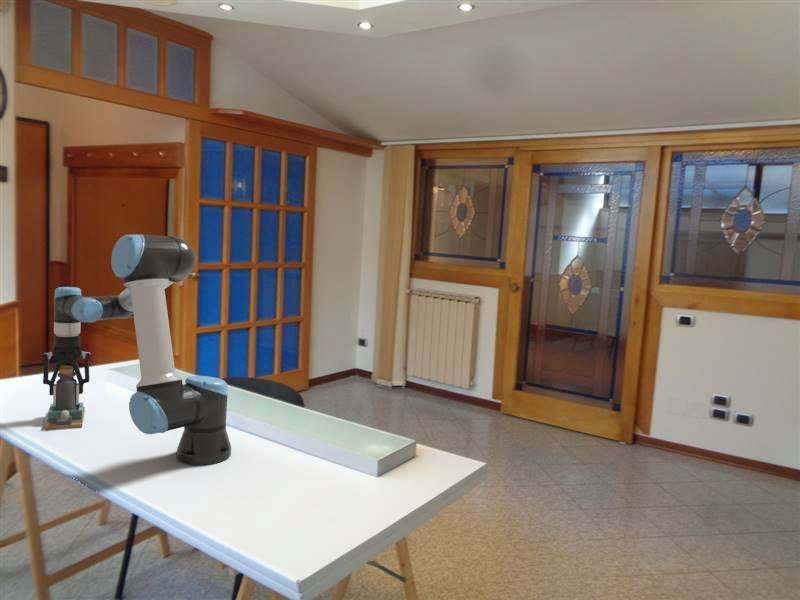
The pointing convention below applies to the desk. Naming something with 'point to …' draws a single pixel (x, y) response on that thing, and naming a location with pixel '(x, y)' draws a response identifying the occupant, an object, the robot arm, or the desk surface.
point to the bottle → (66, 389)
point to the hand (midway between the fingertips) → (66, 403)
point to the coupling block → (65, 418)
